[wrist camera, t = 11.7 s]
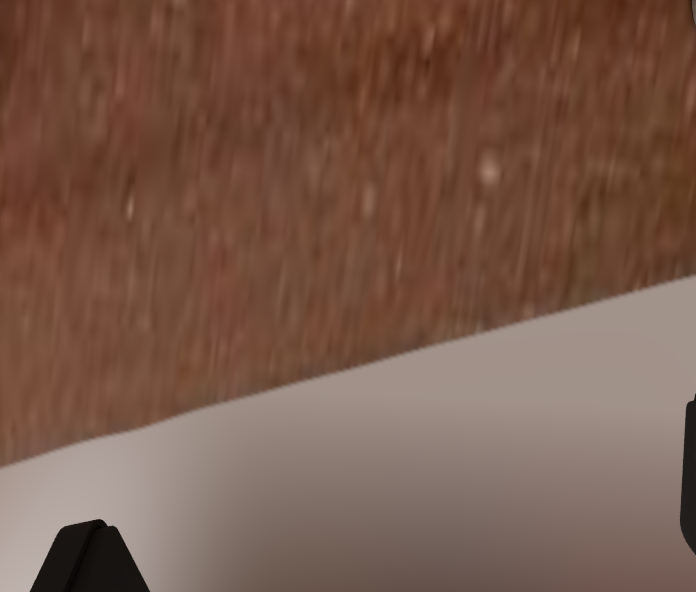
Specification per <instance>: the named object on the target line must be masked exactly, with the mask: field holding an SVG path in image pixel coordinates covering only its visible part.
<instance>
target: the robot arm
mask: <svg viewBox="0 0 696 592" xmlns="http://www.w3.org/2000/svg"><path fill="white" fill-rule="evenodd" d="M692 8H693V17H694V21H695V24H696V0H692ZM680 526H681V530H682V533H683V536H684V538H685V540H686V542H687V544H688V545H689V547H690V548H691V549H692V551H693V552H694V553H695V555H696V394H695V398H694V401H690V402H688V404H687V407H686V419H685V438H684V456H683V474H682V493H681V512H680ZM30 592H150V591H149V589H148V587H147V585H146V583H145V581H144V579H143V577H142V575H141V573H140V571H139V570H138V567H137V566H136V564H135V562H134V560H133V558H132V556H131V554H130V552H129V550H128V548H127V546H126V544H125V542H124V540H123V539H122V537H121V535H120V533H119V531H118V529H117V528H116V527H114V526H107V524H106V523H105V522H104V521H103V520H101V519H97V520H92V521H88V522H83V523H78V524H73V525H69V526H65V527H63V528H62V529H61V530H60V531H59V533H58V534H57V536H56V538H55V540H54V542H53V544H52V546H51V548H50V550H49V552H48V555H47V557H46V559H45V561H44V563H43V565H42V567H41V569H40V571H39V574H38V576H37V578H36V580H35V582H34V584H33V586H32V588H31V590H30Z"/></svg>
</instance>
